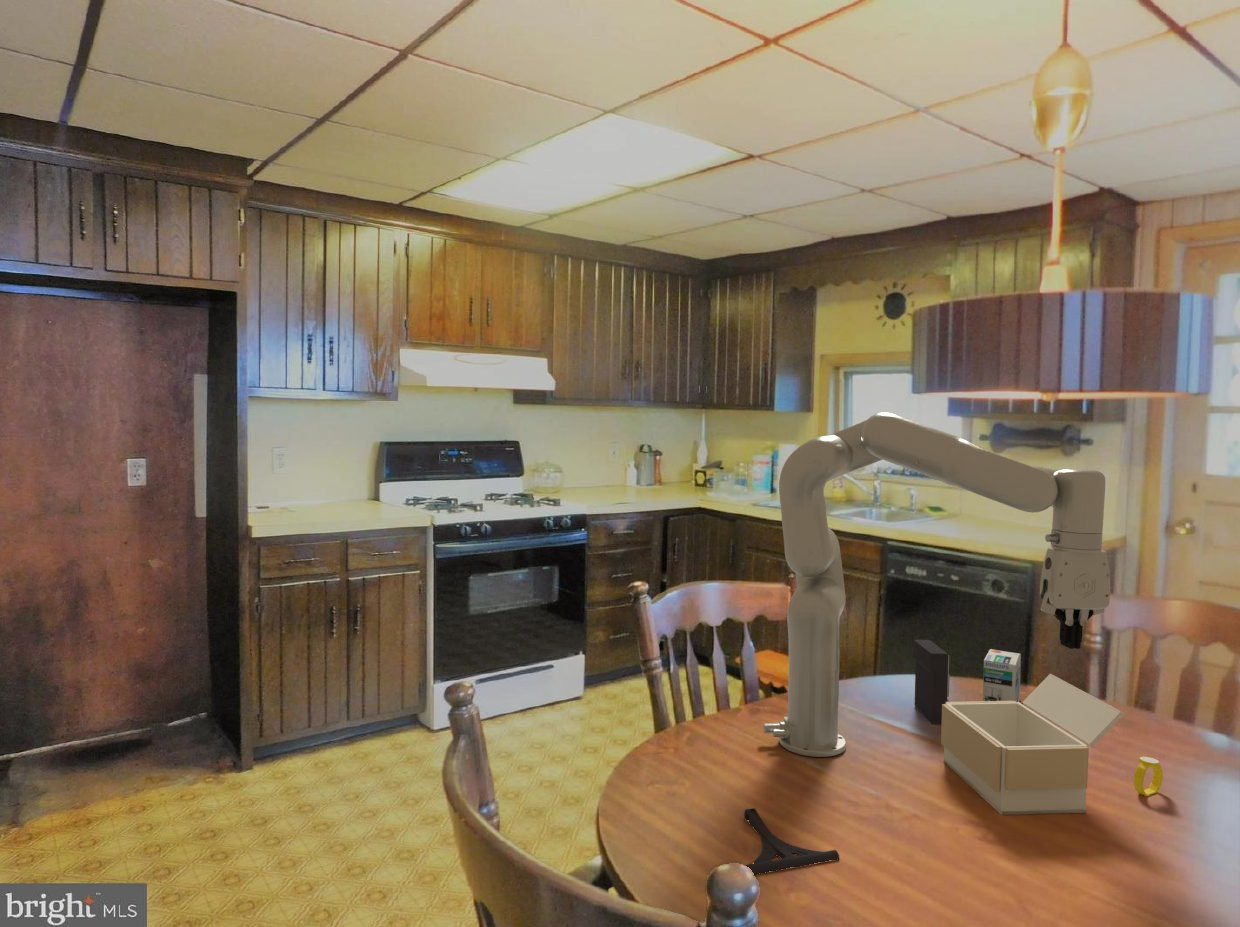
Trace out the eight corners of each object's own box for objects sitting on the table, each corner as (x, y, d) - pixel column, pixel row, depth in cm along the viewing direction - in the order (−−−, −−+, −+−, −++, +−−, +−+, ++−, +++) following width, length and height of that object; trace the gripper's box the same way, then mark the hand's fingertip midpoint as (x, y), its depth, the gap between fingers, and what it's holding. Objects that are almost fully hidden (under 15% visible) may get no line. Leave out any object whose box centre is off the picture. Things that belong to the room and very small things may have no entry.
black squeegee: (788, 815, 130) (788, 798, 130) (839, 864, 116) (839, 845, 116) (705, 829, 126) (706, 812, 125) (748, 881, 111) (748, 862, 111)
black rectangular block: (950, 725, 167) (952, 653, 166) (929, 724, 167) (931, 653, 166) (931, 706, 178) (932, 639, 177) (911, 705, 178) (913, 639, 177)
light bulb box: (1015, 714, 173) (1017, 665, 172) (981, 708, 177) (982, 660, 176) (1020, 699, 182) (1021, 652, 182) (987, 694, 186) (989, 648, 185)
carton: (999, 817, 128) (1001, 750, 127) (937, 760, 150) (939, 702, 149) (1088, 815, 129) (1091, 748, 128) (1014, 758, 150) (1016, 700, 150)
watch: (1148, 788, 139) (1151, 754, 139) (1165, 795, 137) (1168, 760, 137) (1128, 793, 136) (1131, 758, 136) (1145, 800, 134) (1148, 764, 134)
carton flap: (1121, 711, 130) (1124, 714, 130) (1050, 673, 149) (1053, 676, 149) (1089, 744, 130) (1092, 747, 130) (1022, 702, 149) (1025, 705, 149)
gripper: (1047, 544, 133) (1041, 653, 135) (1133, 545, 134) (1126, 653, 135) (1021, 537, 141) (1016, 640, 142) (1103, 538, 142) (1097, 640, 143)
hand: (1070, 646), depth 139 cm, fingers closed
